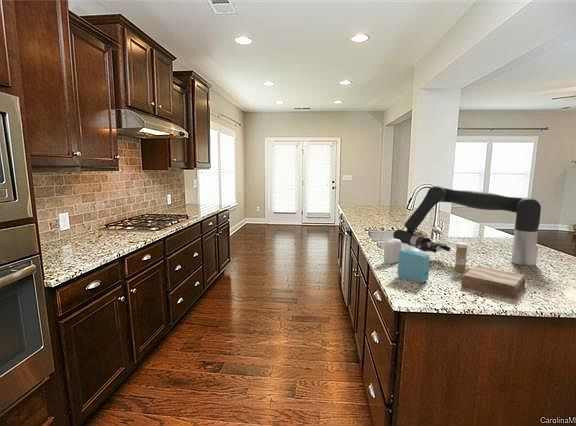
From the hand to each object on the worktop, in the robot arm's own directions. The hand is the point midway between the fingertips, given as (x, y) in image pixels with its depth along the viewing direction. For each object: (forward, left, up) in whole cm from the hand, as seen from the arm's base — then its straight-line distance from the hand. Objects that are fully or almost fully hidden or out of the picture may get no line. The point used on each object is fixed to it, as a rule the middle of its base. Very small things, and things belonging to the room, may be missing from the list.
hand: (442, 250), depth 156 cm
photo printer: (+24, -4, -7) cm, 25 cm away
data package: (+24, +21, -7) cm, 33 cm away
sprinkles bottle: (-3, +11, -7) cm, 14 cm away
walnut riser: (-5, +31, -7) cm, 32 cm away
